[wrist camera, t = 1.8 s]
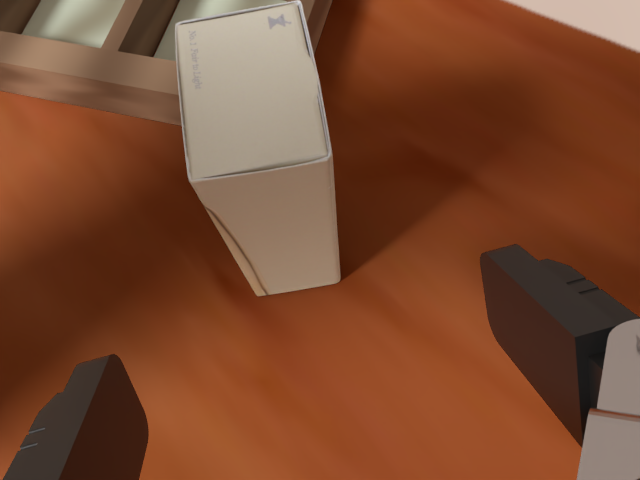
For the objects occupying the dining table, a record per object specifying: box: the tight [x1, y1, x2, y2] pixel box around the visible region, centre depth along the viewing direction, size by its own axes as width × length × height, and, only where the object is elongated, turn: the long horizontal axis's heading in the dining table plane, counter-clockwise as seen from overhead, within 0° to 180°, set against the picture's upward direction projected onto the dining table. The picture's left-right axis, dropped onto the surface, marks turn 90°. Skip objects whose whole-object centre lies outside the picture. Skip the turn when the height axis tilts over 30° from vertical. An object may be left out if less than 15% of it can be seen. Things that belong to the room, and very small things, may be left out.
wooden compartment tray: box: [0, 0, 332, 126], centre depth 32 cm, size 20×12×3 cm, turn 75°
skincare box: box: [175, 0, 341, 296], centre depth 22 cm, size 6×4×12 cm
